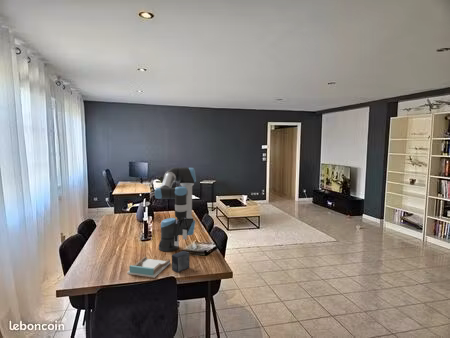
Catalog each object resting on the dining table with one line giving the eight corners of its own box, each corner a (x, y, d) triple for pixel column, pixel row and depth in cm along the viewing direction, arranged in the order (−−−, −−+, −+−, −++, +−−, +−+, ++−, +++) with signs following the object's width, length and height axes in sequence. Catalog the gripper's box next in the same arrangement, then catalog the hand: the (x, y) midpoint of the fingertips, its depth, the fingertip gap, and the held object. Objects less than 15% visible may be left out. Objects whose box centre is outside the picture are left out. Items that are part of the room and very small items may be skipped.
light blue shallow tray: (145, 260, 199) (145, 253, 198) (170, 263, 194) (170, 255, 194) (127, 273, 177) (127, 265, 177) (154, 277, 173) (154, 269, 172)
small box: (183, 264, 192) (183, 250, 191) (190, 267, 188) (190, 252, 187) (171, 270, 184) (171, 254, 183) (177, 273, 180) (177, 257, 179)
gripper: (182, 206, 195) (182, 236, 197) (167, 214, 171) (167, 248, 173) (193, 207, 194) (192, 237, 195) (178, 215, 169) (178, 249, 171)
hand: (180, 242), depth 184 cm, fingers open, 13 cm apart
